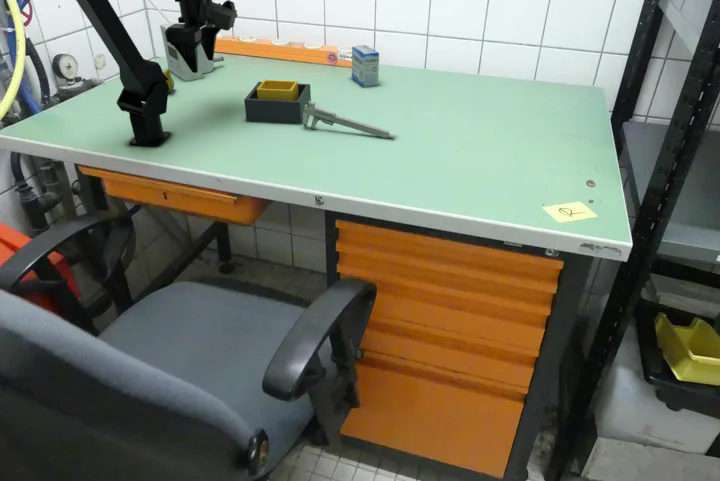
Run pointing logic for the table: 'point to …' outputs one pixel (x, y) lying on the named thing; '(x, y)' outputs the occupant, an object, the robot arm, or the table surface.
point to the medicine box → (365, 65)
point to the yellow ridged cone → (170, 81)
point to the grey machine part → (178, 63)
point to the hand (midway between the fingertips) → (203, 66)
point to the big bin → (277, 107)
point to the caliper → (339, 121)
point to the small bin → (278, 90)
